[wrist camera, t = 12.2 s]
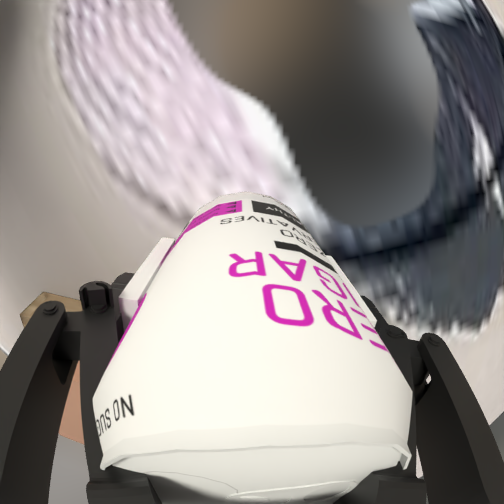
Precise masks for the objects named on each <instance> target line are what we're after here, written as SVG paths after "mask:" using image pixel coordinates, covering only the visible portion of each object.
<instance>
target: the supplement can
mask: <svg viewBox="0 0 504 504" xmlns="http://www.w3.org/2000/svg"><path fill="white" fill-rule="evenodd" d="M411 406H412V390H411V388H410V386H409V385H408V383H407V381H406V380H405V378H404V376H403V374H402V373H401V371H400V369H399V368H398V366H397V364H396V363H395V361H394V359H393V358H392V356H391V354H390V353H389V351H388V349H387V348H386V346H385V345H384V343H383V341H382V340H381V338H380V336H379V335H378V333H377V332H376V330H375V329H374V327H373V325H372V324H371V322H370V321H369V319H368V318H367V316H366V315H365V313H364V311H363V310H362V308H361V307H360V305H359V304H358V302H357V301H356V299H355V298H354V296H353V295H352V293H351V292H350V290H349V289H348V287H347V286H346V284H345V283H344V282H343V280H342V279H341V277H340V276H339V274H338V273H337V271H336V270H335V268H334V267H333V266H332V264H331V263H330V261H329V260H328V258H327V257H326V256H325V254H324V253H323V251H322V250H321V249H320V247H319V246H318V244H317V243H316V242H315V240H314V239H313V238H312V236H311V235H310V233H309V232H308V231H307V229H306V228H305V227H304V225H303V224H302V223H301V221H300V220H299V219H298V217H297V216H296V215H295V214H294V212H293V211H292V210H291V208H289V207H287V206H286V205H284V204H282V203H281V202H279V201H278V200H276V199H274V198H273V197H271V196H267V195H262V194H257V193H251V192H240V193H234V194H228V195H222V196H220V197H218V198H216V199H215V200H213V201H211V202H209V203H208V204H206V205H204V206H203V207H201V208H200V209H199V210H198V211H197V213H196V214H195V215H194V216H193V218H192V219H191V220H190V221H189V223H188V224H187V225H186V226H185V228H184V230H183V231H182V233H181V234H180V236H179V238H178V239H177V241H176V243H175V244H174V246H173V247H172V249H171V251H170V252H169V254H168V256H167V257H166V259H165V261H164V262H163V264H162V266H161V267H160V269H159V271H158V273H157V274H156V276H155V278H154V279H153V281H152V283H151V285H150V286H149V288H148V290H147V292H146V294H145V295H144V297H143V299H142V301H141V303H140V304H139V306H138V308H137V310H136V312H135V314H134V315H133V317H132V319H131V321H130V323H129V325H128V327H127V329H126V330H125V332H124V334H123V336H122V338H121V340H120V342H119V344H118V346H117V348H116V350H115V352H114V354H113V356H112V358H111V360H110V362H109V364H108V366H107V368H106V370H105V373H104V375H103V377H102V379H101V381H100V383H99V385H98V388H97V390H96V392H95V394H94V396H93V409H94V415H95V420H96V425H97V430H98V434H99V439H100V443H101V447H102V451H103V458H102V461H101V465H100V468H101V469H102V470H105V468H106V467H108V466H110V465H111V464H112V465H113V466H116V467H120V468H123V469H127V470H131V471H135V472H140V473H145V474H147V476H148V478H149V480H150V482H151V484H152V486H153V488H154V490H155V491H156V493H157V495H158V497H159V499H160V500H161V502H162V504H333V503H334V502H335V501H336V500H338V499H339V498H340V497H342V496H343V495H345V494H346V493H348V492H350V491H351V490H352V489H354V488H355V487H356V486H357V485H358V483H359V482H361V481H362V480H363V479H364V478H365V477H367V476H368V475H369V474H370V473H371V472H373V471H378V470H382V469H386V468H390V467H393V466H396V465H397V463H398V461H400V463H401V465H402V468H403V470H404V469H407V466H408V464H409V461H410V459H411V456H412V455H411V452H410V450H409V448H408V445H407V442H408V434H409V426H410V417H411Z"/></svg>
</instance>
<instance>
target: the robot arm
mask: <svg viewBox="0 0 504 504" xmlns="http://www.w3.org/2000/svg"><path fill="white" fill-rule="evenodd" d="M174 244H175V239H174V238H165V237H162V238H161V240H160V241H159V242H158V244H157V245H156V246H155V247H154V249H153V250H152V251H151V253H150V254H149V255H148V257H147V258H146V259H145V261H144V262H143V264H142V265H141V266H140V268H139V269H138V270H137V272H136V273H135V274H133V273H126V272H125V273H124V274H122V275H120V276H118V277H117V278H116V280H115V281H114V282H113V283H112V285H109V284H108V283H106V282H102V281H94V282H89V283H87V284H84V285H83V286H82V287H81V288H80V290H79V294H80V300H81V305H82V311H77V312H66V309H65V306H64V304H63V303H62V302H60V301H52V300H51V301H46V302H44V303H42V304H41V305H40V306H39V307H38V308H37V309H36V310H35V312H34V314H33V315H32V317H31V318H30V320H29V321H28V323H27V325H26V326H25V328H24V329H23V331H22V333H21V334H20V336H19V338H18V339H17V341H16V343H15V345H14V346H13V348H12V350H11V352H10V354H9V355H8V357H7V359H6V361H5V363H4V365H3V367H2V369H1V371H0V504H48V498H49V487H50V480H51V472H52V465H53V459H54V454H55V448H56V442H57V438H58V433H59V429H60V424H61V420H62V416H63V412H64V408H65V404H66V400H67V397H68V393H69V390H70V386H71V383H72V379H73V376H74V373H75V370H76V367H77V364H78V361H80V402H81V417H82V428H83V437H84V445H85V452H86V459H87V465H88V470H89V477H90V481H89V482H88V484H87V486H86V492H87V498H88V503H89V504H162V502H161V500H160V499H159V497H158V495H157V493H156V491H155V490H154V488H153V486H152V484H151V482H150V480H149V478H148V476H147V474H145V473H140V472H135V471H131V470H127V469H123V468H120V467H116V466H113V465H112V464H111V465H110V466H108V467H106V468H105V470H102V469H101V468H100V465H101V461H102V458H103V451H102V447H101V443H100V439H99V434H98V430H97V425H96V420H95V415H94V409H93V396H94V394H95V392H96V390H97V388H98V385H99V383H100V381H101V379H102V377H103V375H104V373H105V370H106V368H107V366H108V364H109V362H110V360H111V358H112V356H113V354H114V352H115V350H116V348H117V346H118V344H119V342H120V340H121V338H122V336H123V334H124V332H125V330H126V329H127V327H128V325H129V323H130V321H131V319H132V317H133V315H134V314H135V312H136V310H137V308H138V306H139V304H140V303H141V301H142V299H143V297H144V295H145V294H146V292H147V290H148V288H149V286H150V285H151V283H152V281H153V279H154V278H155V276H156V274H157V273H158V271H159V269H160V267H161V266H162V264H163V262H164V261H165V259H166V257H167V256H168V254H169V252H170V251H171V249H172V247H173V246H174ZM325 256H326V255H325ZM326 257H327V258H328V260H329V261H330V263H331V264H332V266H333V267H334V268H335V270H336V271H337V273H338V274H339V276H340V277H341V279H342V280H343V282H344V283H345V284H346V286H347V287H348V289H349V290H350V292H351V293H352V295H353V296H354V298H355V299H356V301H357V302H358V304H359V305H360V307H361V308H362V310H363V311H364V313H365V315H366V316H367V318H368V319H369V321H370V322H371V324H372V325H373V327H374V329H375V330H376V332H377V333H378V335H379V336H380V338H381V340H382V341H383V343H384V345H385V346H386V348H387V349H388V351H389V353H390V354H391V356H392V358H393V359H394V361H395V363H396V364H397V366H398V368H399V369H400V371H401V373H402V374H403V376H404V378H405V380H406V381H407V383H408V385H409V386H410V388H411V390H412V406H411V417H410V426H409V434H408V442H407V445H408V448H409V450H410V452H411V455H412V456H411V459H410V461H409V464H408V466H407V469H404V470H403V468H402V465H401V463H400V461H398V463H397V465H396V466H393V467H390V468H386V469H382V470H378V471H373V472H371V473H370V474H369V475H368V476H367V477H365V478H364V479H363V480H362V481H361V482H359V483H358V485H357V486H356V487H355V488H354V489H352V490H351V491H350V492H348V493H346V494H345V495H343V496H342V497H340V498H339V499H338V500H336V501H335V502H334V503H333V504H426V493H427V496H428V502H429V504H504V462H503V460H502V457H501V454H500V452H499V449H498V446H497V444H496V441H495V439H494V436H493V434H492V432H491V429H490V427H489V425H488V423H487V420H486V418H485V416H484V414H483V412H482V410H481V407H480V405H479V403H478V401H477V399H476V397H475V395H474V393H473V391H472V389H471V387H470V386H469V384H468V382H467V380H466V378H465V376H464V374H463V373H462V371H461V369H460V367H459V365H458V364H457V362H456V360H455V359H454V357H453V355H452V353H451V352H450V350H449V348H448V347H447V345H446V343H445V342H444V341H443V339H442V338H440V337H439V336H438V335H436V334H432V333H425V334H423V335H422V337H421V339H420V341H415V340H410V339H408V338H407V335H406V333H405V332H404V331H403V330H401V329H400V328H398V327H396V326H393V325H388V324H387V322H386V321H385V319H384V318H383V317H382V315H381V314H380V313H379V311H378V310H377V308H375V305H374V304H373V303H372V301H370V300H369V299H368V298H366V297H365V296H360V295H359V294H358V292H357V291H356V290H355V288H354V287H353V285H352V284H351V283H350V281H349V280H348V278H347V277H346V276H345V274H344V273H343V272H342V270H341V269H340V267H339V266H338V265H337V263H336V262H335V261H334V259H333V258H332V257H331V256H326ZM429 374H430V376H431V381H430V382H429V384H427V382H426V379H427V377H428V376H429ZM416 445H417V449H418V453H419V457H420V462H421V466H422V471H423V475H424V480H425V481H424V480H423V479H419V478H417V477H416Z"/></svg>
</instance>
